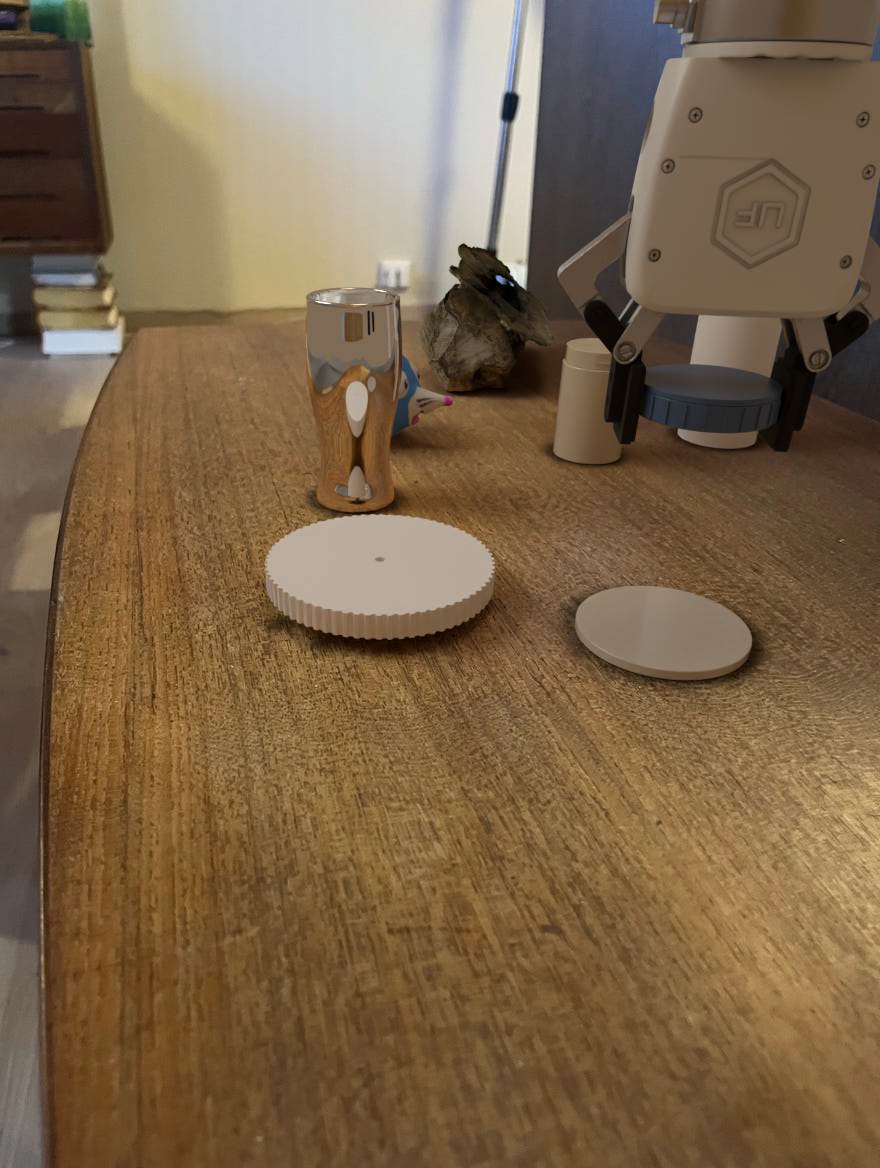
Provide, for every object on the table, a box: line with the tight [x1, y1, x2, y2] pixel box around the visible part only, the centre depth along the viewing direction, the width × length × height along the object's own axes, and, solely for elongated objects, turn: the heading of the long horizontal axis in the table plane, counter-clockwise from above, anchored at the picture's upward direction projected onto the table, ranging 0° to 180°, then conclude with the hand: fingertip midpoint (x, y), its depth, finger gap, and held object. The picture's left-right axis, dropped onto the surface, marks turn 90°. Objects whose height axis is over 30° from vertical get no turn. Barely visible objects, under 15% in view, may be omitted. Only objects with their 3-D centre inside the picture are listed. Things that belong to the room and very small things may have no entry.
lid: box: [639, 363, 783, 433], centre depth 44 cm, size 7×7×2 cm
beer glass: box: [304, 286, 403, 513], centre depth 65 cm, size 7×7×15 cm
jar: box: [552, 337, 623, 465], centre depth 77 cm, size 6×6×9 cm
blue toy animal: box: [391, 354, 454, 438], centre depth 79 cm, size 12×12×8 cm
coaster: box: [574, 585, 753, 681], centre depth 52 cm, size 10×10×1 cm
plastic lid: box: [264, 513, 496, 641], centre depth 54 cm, size 14×14×2 cm
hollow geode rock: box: [419, 242, 554, 392], centre depth 102 cm, size 28×13×15 cm
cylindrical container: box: [677, 315, 783, 450], centre depth 77 cm, size 7×7×25 cm
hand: (697, 437), depth 46 cm, fingers closed on lid, 7 cm apart
